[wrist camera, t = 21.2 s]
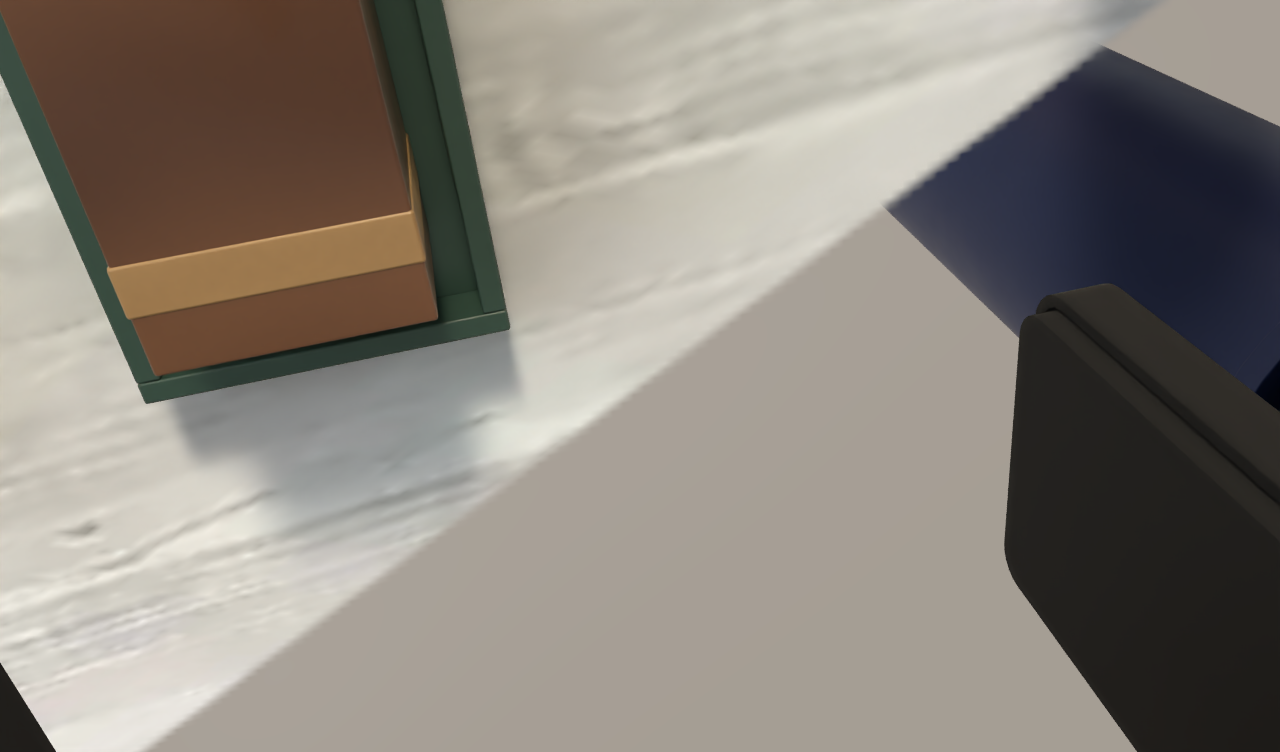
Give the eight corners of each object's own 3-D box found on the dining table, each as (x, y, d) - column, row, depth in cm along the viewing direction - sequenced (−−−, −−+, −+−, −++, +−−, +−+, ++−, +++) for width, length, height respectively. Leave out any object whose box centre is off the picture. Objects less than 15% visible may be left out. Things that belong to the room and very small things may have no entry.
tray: (503, 295, 30) (510, 330, 28) (158, 364, 28) (144, 405, 27) (348, -443, 21) (347, -456, 19) (-158, -382, 20) (-207, -390, 18)
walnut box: (-6, -228, 21) (-103, -215, 17) (311, -271, 22) (295, -270, 17) (186, 275, 27) (151, 380, 23) (431, 228, 28) (441, 321, 23)
